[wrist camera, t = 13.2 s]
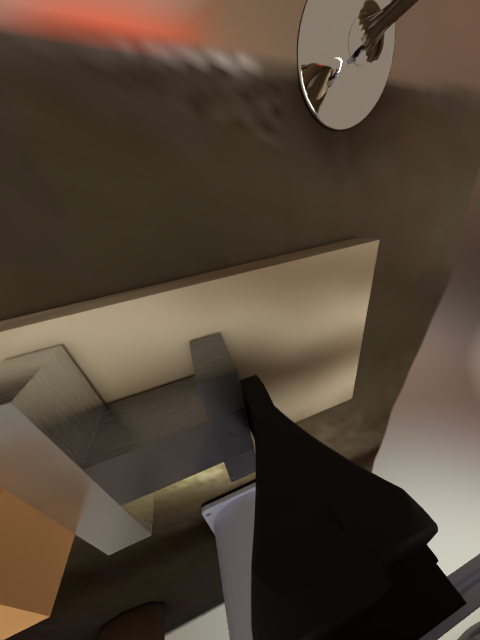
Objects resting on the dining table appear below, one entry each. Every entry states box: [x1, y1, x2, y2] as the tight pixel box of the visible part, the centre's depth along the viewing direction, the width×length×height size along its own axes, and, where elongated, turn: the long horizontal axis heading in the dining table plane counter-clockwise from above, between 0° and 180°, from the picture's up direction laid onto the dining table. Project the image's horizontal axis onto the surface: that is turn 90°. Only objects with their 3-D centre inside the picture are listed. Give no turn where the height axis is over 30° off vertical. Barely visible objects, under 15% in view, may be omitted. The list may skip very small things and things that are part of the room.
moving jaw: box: [0, 333, 256, 555], centre depth 9 cm, size 10×8×3 cm
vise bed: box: [0, 238, 379, 440], centre depth 11 cm, size 12×23×2 cm, turn 100°
